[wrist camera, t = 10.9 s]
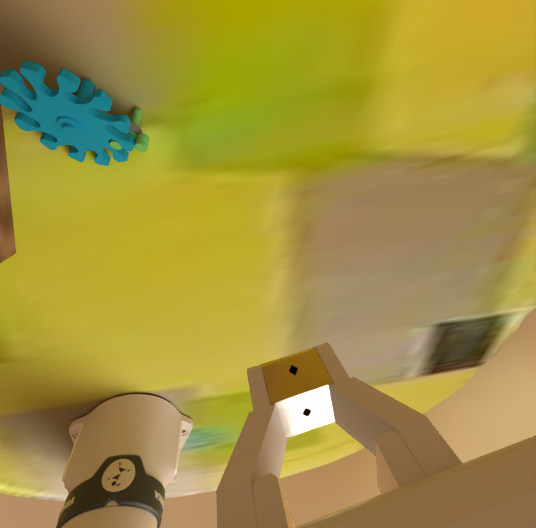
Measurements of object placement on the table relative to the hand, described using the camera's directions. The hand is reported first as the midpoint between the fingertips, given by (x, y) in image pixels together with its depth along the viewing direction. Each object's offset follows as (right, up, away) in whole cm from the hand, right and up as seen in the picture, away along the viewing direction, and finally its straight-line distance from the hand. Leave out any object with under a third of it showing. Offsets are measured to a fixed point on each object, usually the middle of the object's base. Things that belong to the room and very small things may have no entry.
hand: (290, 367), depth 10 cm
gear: (-18, +18, +18) cm, 31 cm away
